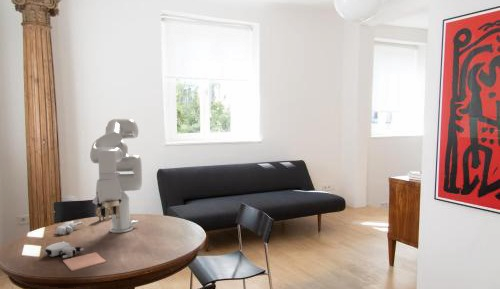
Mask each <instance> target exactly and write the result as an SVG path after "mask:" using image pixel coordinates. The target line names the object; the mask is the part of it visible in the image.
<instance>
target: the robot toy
mask: <svg viewBox="0 0 500 289" xmlns="http://www.w3.org/2000/svg"><path fill="white" fill-rule="evenodd" d="M84 250H85V249H84V247H80V246H76V247H75V246H72V245H71V244H70V243H69V242H66V241H65V240H63V241H60V242H55V243H52V244H49V245H48V246H46V247H45V250H43V249H40V251H42V252H43V253H44V254H45V255H47V256H50V257H56V256H60V258H62V259H69V258H70V257H71V258H72V257H73V256H76V255H77V252H78V253H80V252H83V251H84Z"/></svg>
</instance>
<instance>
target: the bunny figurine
mask: <svg viewBox="0 0 500 289" xmlns="http://www.w3.org/2000/svg"><path fill="white" fill-rule="evenodd" d="M82 224H83V222H82V221H78V222H74V220H71V221H65V222H63V223H62V224H61V225H59V226H56V229H55V232H54V233H55V235H63V236H65V235H67V234H68V233H72V232H73V231H75V229H76V226H80V225H82Z"/></svg>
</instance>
